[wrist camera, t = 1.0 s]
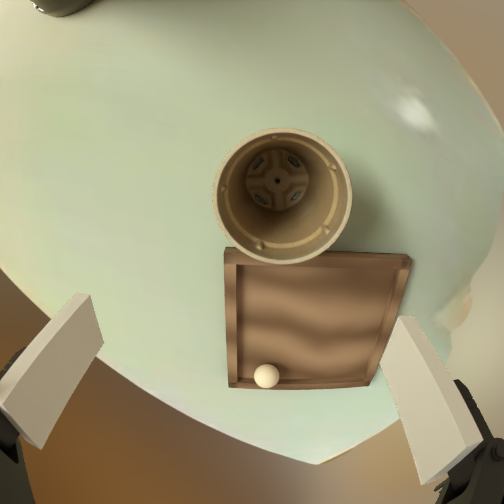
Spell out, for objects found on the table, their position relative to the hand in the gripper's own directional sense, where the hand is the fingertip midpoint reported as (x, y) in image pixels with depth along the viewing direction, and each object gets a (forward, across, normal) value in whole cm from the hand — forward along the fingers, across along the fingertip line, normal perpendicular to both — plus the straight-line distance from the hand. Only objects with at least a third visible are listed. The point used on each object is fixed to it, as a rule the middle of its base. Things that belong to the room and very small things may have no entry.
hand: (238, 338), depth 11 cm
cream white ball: (+18, +3, -20) cm, 27 cm away
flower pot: (+18, +2, +4) cm, 19 cm away
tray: (+18, +8, -13) cm, 24 cm away
